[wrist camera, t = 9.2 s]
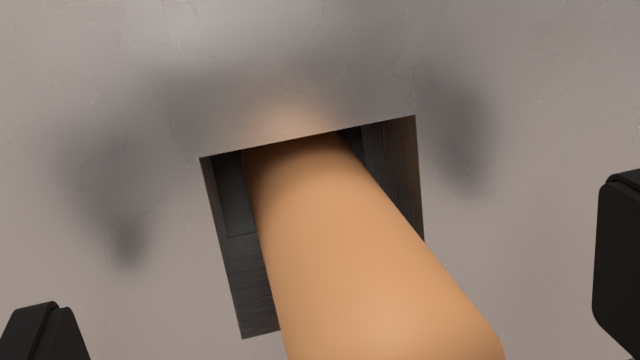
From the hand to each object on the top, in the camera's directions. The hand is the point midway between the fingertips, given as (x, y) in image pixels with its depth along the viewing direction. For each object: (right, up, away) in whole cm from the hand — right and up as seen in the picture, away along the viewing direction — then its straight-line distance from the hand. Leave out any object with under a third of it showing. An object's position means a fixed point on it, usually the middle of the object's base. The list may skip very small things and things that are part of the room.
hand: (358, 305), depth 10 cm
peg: (-2, +3, +7) cm, 8 cm away
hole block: (-2, +3, +7) cm, 8 cm away
